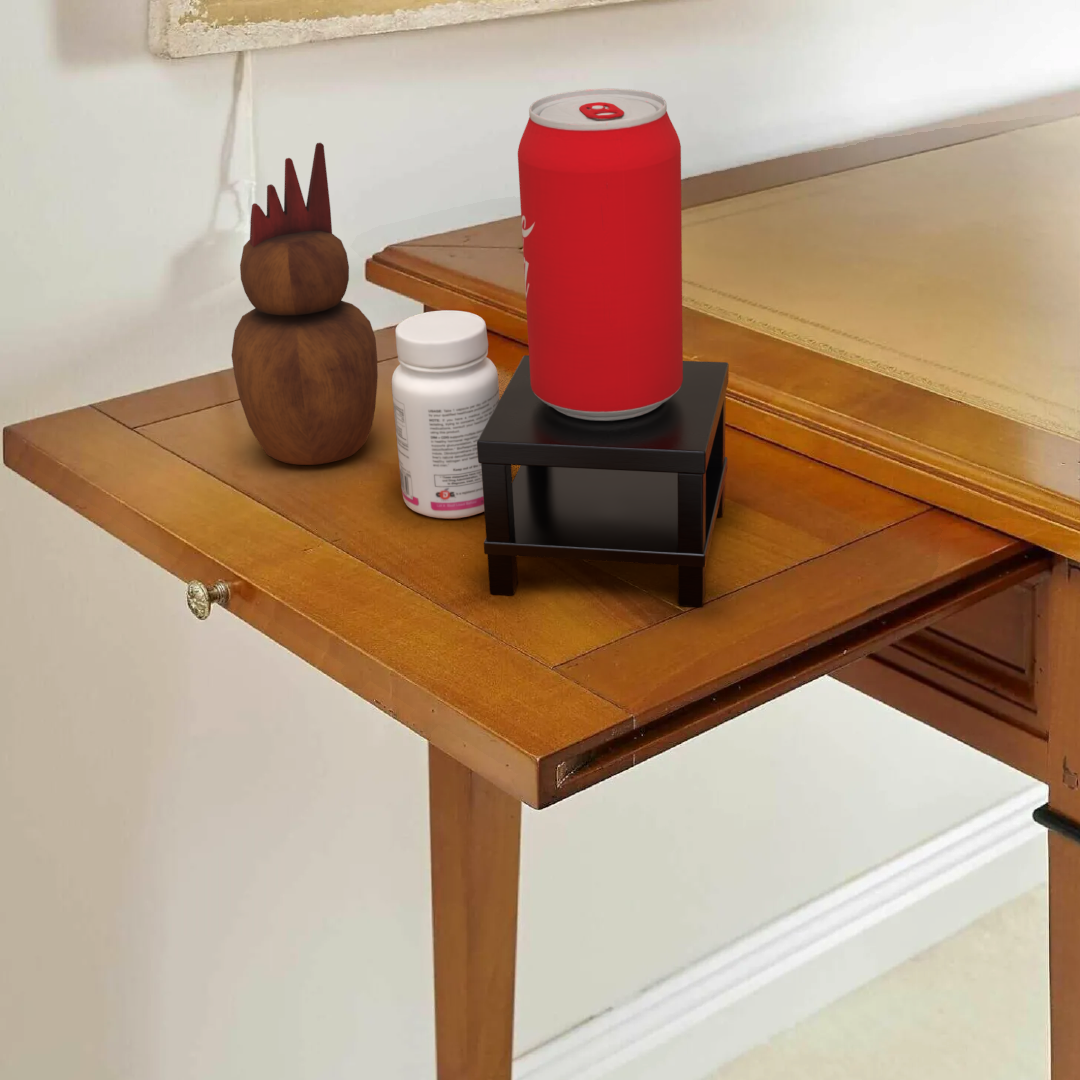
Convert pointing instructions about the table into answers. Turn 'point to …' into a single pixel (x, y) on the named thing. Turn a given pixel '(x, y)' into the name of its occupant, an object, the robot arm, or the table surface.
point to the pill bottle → (442, 410)
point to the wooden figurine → (302, 331)
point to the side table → (606, 481)
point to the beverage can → (602, 252)
